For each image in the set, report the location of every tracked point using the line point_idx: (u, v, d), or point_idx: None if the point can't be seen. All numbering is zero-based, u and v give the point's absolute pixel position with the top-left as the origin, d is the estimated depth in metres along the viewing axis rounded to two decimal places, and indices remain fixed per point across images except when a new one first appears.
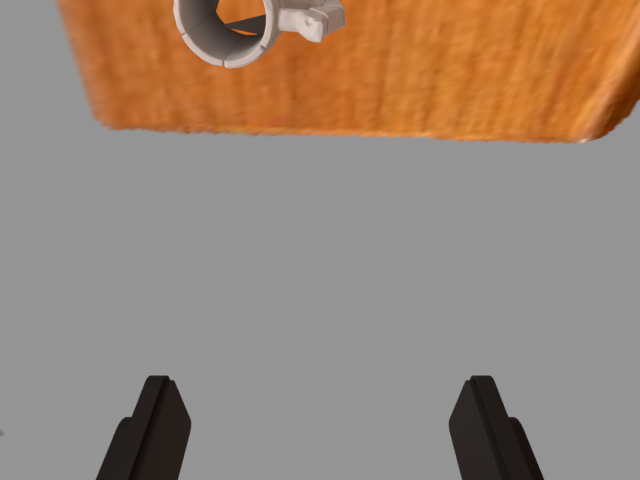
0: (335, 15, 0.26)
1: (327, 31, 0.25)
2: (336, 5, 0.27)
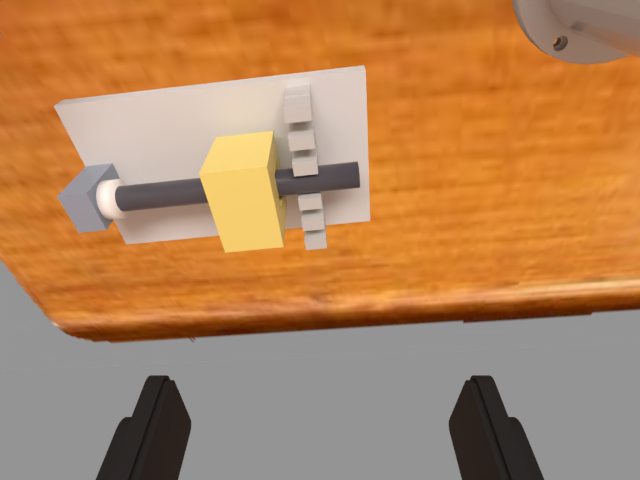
0: None
1: None
2: None
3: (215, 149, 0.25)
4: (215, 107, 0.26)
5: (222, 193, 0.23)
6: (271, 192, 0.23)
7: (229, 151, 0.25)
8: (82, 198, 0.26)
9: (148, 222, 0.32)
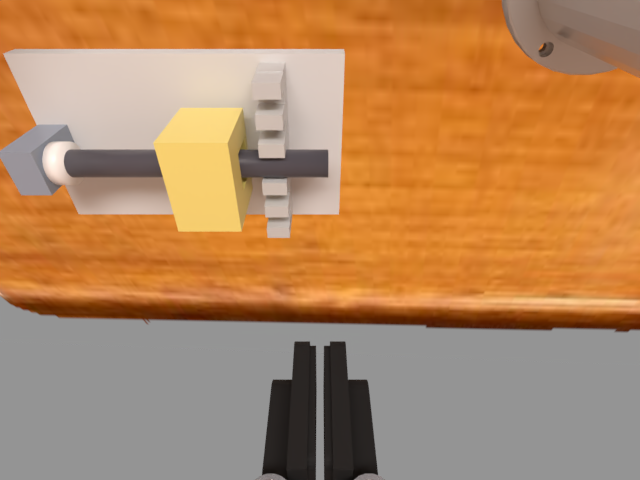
0: None
1: None
2: None
3: (176, 120, 0.23)
4: (182, 75, 0.25)
5: (177, 167, 0.22)
6: (231, 171, 0.22)
7: (191, 123, 0.23)
8: (25, 158, 0.24)
9: (103, 192, 0.30)
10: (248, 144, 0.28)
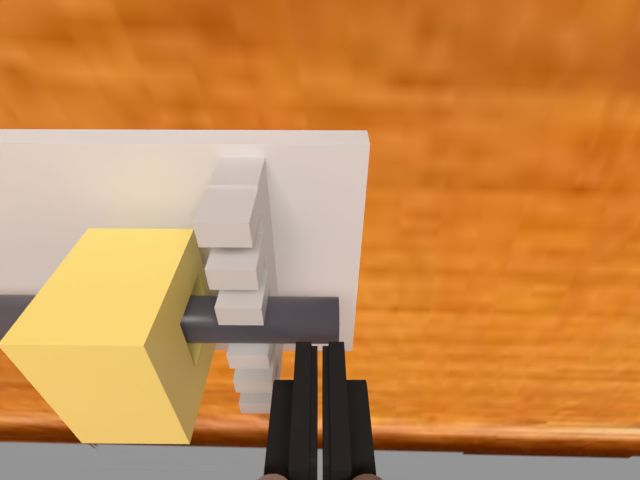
0: None
1: None
2: None
3: (69, 265, 0.13)
4: (89, 176, 0.14)
5: (56, 374, 0.12)
6: (158, 379, 0.12)
7: (93, 276, 0.13)
8: None
9: None
10: None
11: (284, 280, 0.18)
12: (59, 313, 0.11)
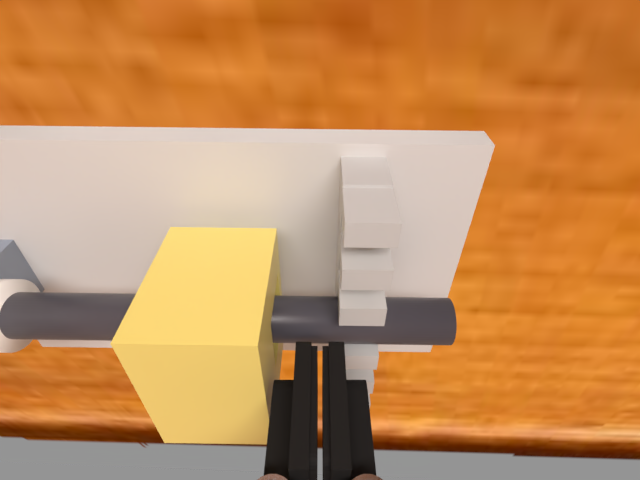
0: None
1: None
2: None
3: (161, 263, 0.13)
4: (205, 174, 0.14)
5: (160, 374, 0.11)
6: (261, 380, 0.12)
7: (188, 275, 0.13)
8: None
9: None
10: (306, 269, 0.17)
11: None
12: (164, 312, 0.11)
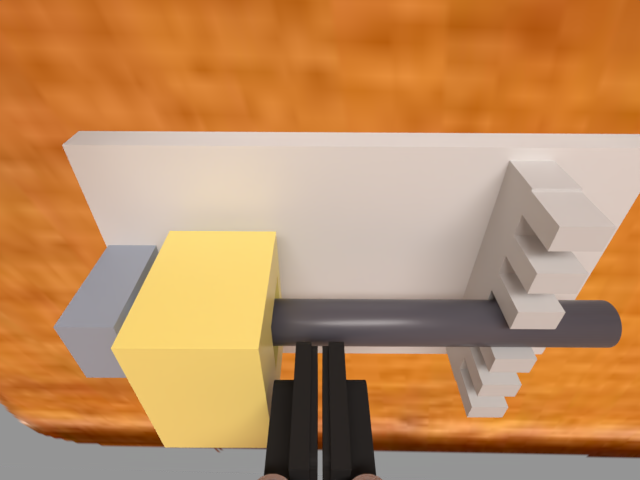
0: None
1: None
2: None
3: (161, 268, 0.13)
4: (368, 179, 0.14)
5: (160, 378, 0.11)
6: (262, 383, 0.12)
7: (188, 279, 0.13)
8: (103, 334, 0.13)
9: None
10: (442, 272, 0.17)
11: None
12: (164, 316, 0.11)
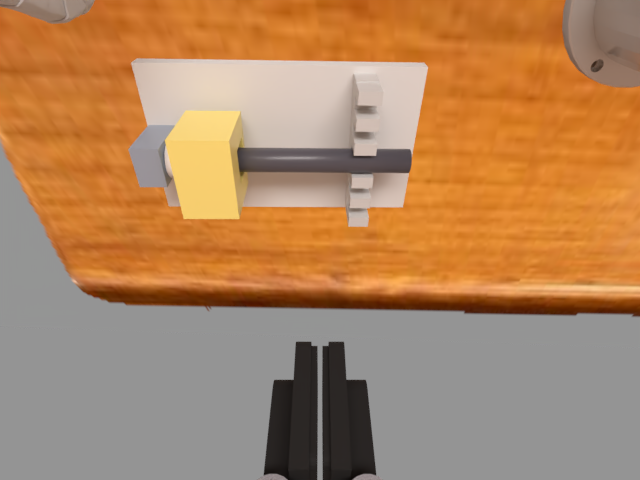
0: (38, 13, 0.19)
1: None
2: (66, 9, 0.21)
3: (183, 120, 0.27)
4: (285, 83, 0.28)
5: (185, 161, 0.25)
6: (231, 165, 0.26)
7: (196, 124, 0.26)
8: (152, 154, 0.27)
9: None
10: (332, 144, 0.31)
11: None
12: (186, 133, 0.25)
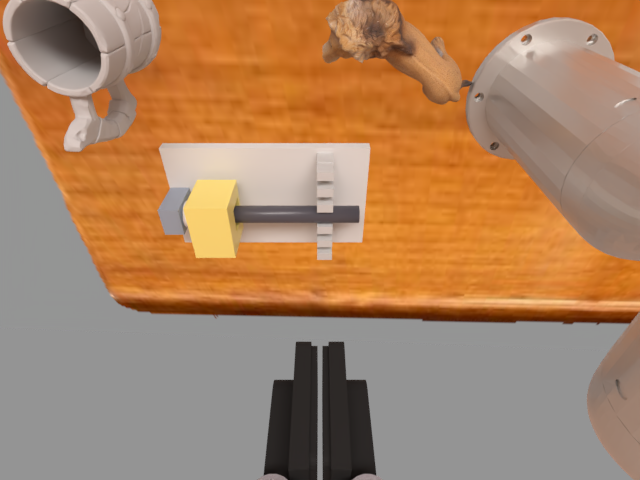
0: (105, 141, 0.31)
1: None
2: (120, 131, 0.32)
3: (195, 190, 0.38)
4: (268, 160, 0.39)
5: (197, 221, 0.36)
6: (229, 223, 0.37)
7: (205, 193, 0.38)
8: (174, 213, 0.38)
9: None
10: (305, 199, 0.42)
11: (335, 204, 0.43)
12: (198, 201, 0.36)
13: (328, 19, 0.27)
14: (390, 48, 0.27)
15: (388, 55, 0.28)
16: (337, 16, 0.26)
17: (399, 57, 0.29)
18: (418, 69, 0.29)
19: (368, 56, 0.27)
